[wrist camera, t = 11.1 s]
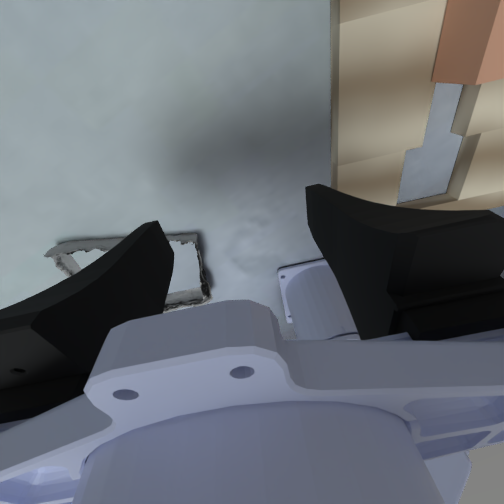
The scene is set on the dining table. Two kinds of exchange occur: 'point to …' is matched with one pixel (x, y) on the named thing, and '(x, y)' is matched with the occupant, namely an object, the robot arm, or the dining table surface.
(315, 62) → the dining table surface
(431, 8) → the keyhole board
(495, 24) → the slider block
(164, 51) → the dining table surface
